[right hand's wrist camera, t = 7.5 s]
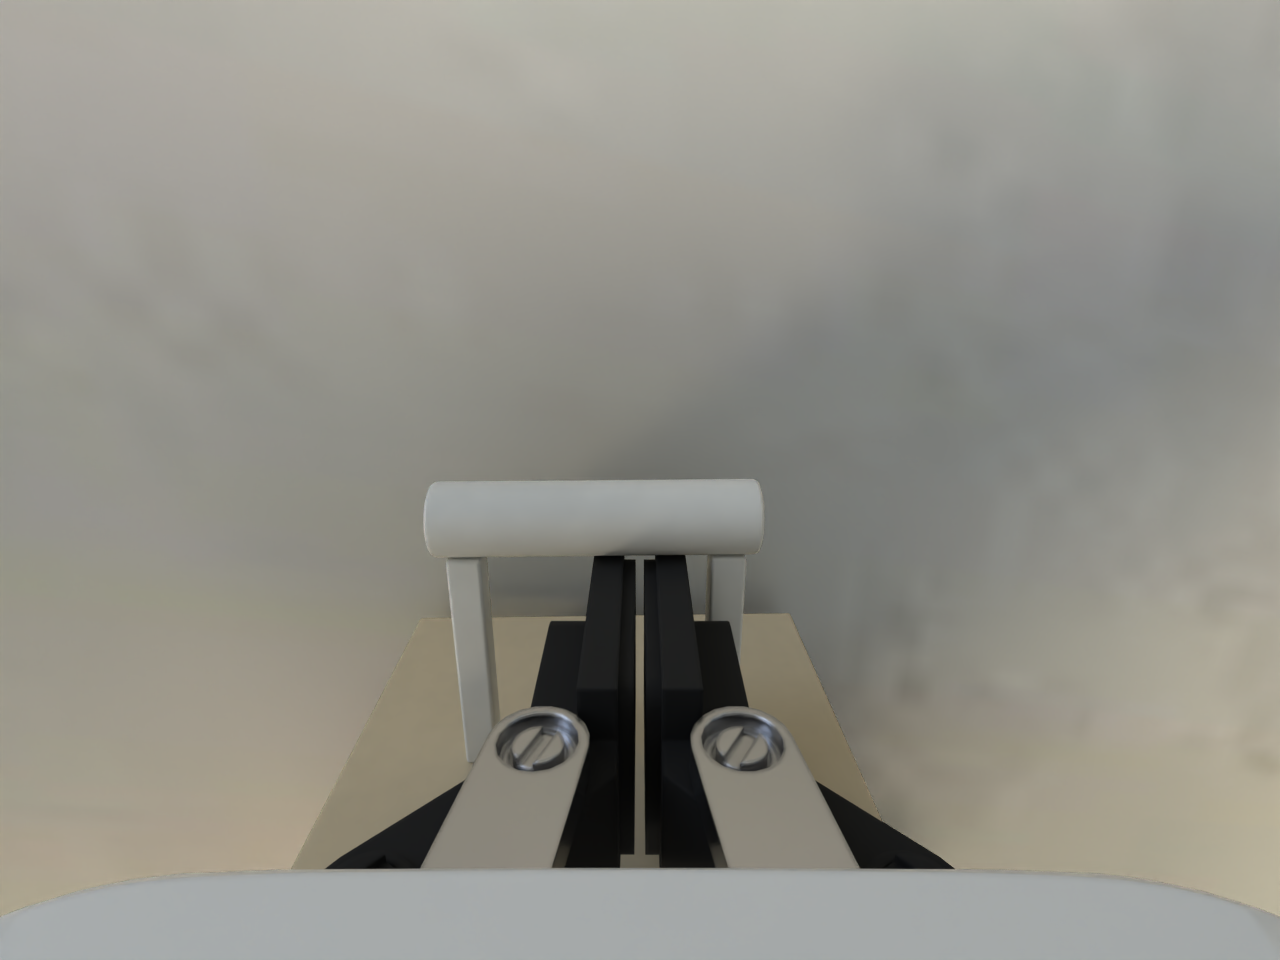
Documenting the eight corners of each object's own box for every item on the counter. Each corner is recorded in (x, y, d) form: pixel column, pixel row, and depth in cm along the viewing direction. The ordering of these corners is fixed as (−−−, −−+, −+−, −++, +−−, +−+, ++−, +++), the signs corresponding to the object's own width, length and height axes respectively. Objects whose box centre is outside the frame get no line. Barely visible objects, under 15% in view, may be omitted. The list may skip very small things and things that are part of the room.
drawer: (394, 410, 16) (183, 576, 8) (808, 407, 16) (978, 566, 9) (473, 1042, 24) (401, 1436, 16) (753, 1034, 24) (817, 1418, 16)
